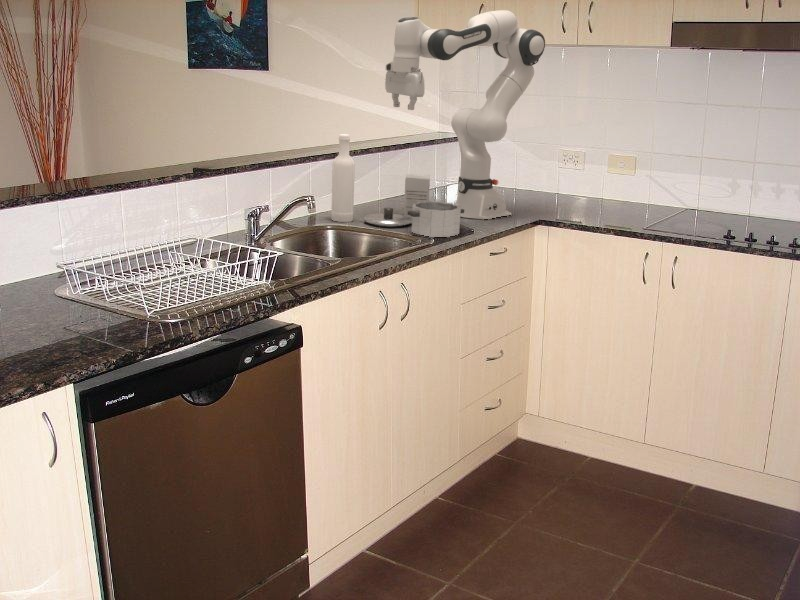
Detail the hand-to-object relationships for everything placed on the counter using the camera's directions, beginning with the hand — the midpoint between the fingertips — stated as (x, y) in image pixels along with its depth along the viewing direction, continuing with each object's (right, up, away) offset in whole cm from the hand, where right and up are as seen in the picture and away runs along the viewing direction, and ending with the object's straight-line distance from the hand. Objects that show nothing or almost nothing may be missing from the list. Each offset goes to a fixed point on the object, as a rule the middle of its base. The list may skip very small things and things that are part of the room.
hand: (403, 108), depth 303 cm
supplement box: (+5, -35, +22) cm, 42 cm away
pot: (+11, -43, -3) cm, 44 cm away
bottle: (-22, -38, +9) cm, 44 cm away
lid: (-5, -39, +8) cm, 40 cm away
